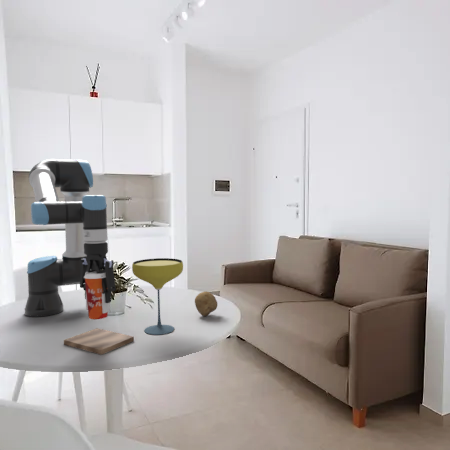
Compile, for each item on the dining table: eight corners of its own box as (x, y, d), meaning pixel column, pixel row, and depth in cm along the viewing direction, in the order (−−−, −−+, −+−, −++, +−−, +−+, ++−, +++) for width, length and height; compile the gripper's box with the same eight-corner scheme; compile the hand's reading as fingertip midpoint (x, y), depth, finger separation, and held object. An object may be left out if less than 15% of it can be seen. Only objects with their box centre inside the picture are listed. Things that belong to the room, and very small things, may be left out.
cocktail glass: (177, 320, 161) (176, 257, 159) (190, 334, 144) (188, 263, 143) (130, 325, 155) (128, 260, 153) (138, 341, 138) (136, 267, 136)
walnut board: (63, 344, 136) (63, 339, 136) (97, 332, 148) (97, 328, 148) (101, 354, 127) (101, 349, 126) (133, 340, 138) (133, 336, 138)
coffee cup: (87, 321, 131) (85, 275, 130) (83, 315, 138) (81, 271, 137) (114, 317, 135) (112, 272, 134) (108, 312, 142) (107, 269, 141)
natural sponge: (212, 311, 172) (212, 288, 172) (221, 317, 164) (220, 292, 163) (192, 314, 169) (191, 290, 168) (199, 320, 160) (199, 295, 160)
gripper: (66, 241, 137) (69, 309, 138) (108, 244, 126) (110, 317, 128) (84, 239, 143) (87, 304, 145) (126, 242, 133) (128, 311, 134)
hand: (98, 310), depth 136 cm, fingers closed on coffee cup, 7 cm apart
